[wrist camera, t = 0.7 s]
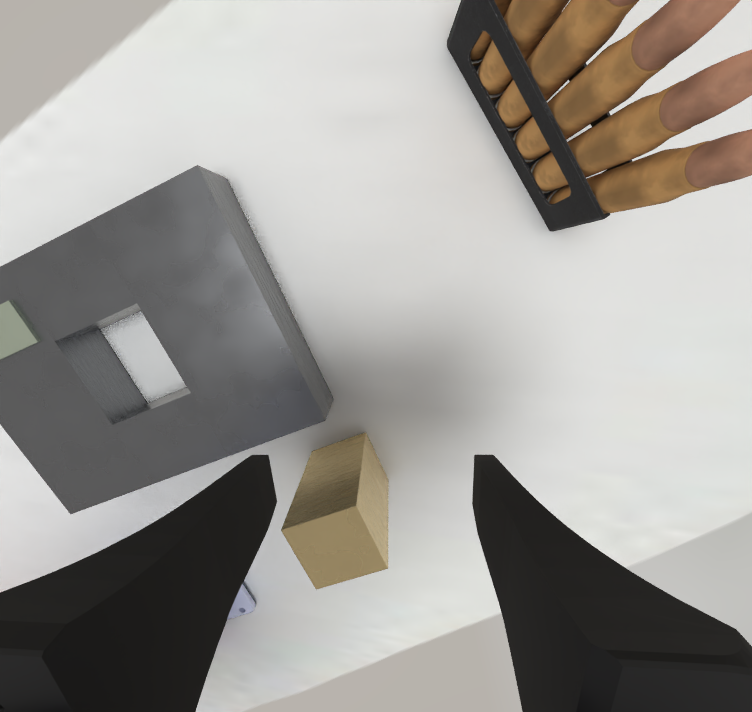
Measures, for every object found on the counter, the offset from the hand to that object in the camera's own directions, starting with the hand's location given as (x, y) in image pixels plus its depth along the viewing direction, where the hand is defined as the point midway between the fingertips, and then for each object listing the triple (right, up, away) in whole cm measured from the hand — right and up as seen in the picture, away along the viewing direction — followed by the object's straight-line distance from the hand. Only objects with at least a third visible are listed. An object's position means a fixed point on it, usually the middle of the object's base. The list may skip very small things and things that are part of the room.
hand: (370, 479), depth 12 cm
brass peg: (-2, -3, +12) cm, 12 cm away
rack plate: (-14, +4, +10) cm, 17 cm away
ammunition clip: (+7, +16, +6) cm, 18 cm away
